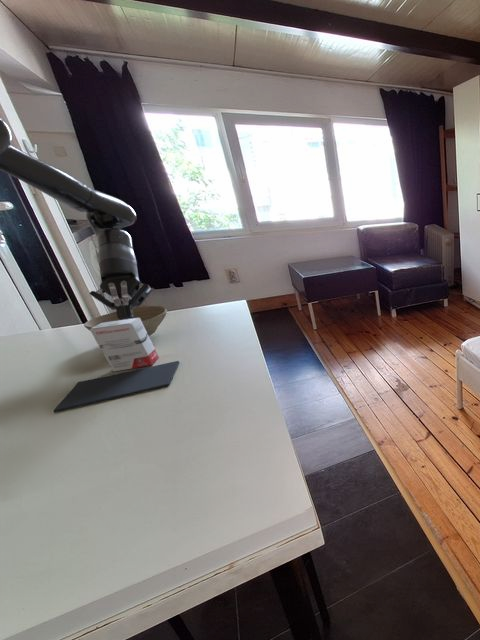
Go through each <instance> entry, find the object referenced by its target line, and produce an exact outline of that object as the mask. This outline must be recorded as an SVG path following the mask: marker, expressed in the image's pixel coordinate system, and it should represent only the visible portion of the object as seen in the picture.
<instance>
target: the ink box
mask: <svg viewBox="0 0 480 640" xmlns="http://www.w3.org/2000/svg"><path fill="white" fill-rule="evenodd" d="M89 331H90V333H91V334H92V336H93V338H94V339H95V342H96V344H97V346H98V347H99V349H100V350H101V352H102V355H103V356H104V357H105V360H106V361H107V363H108V365H109V366H110V369H111V370H112V372H121V371H125V370H132V369H139V368H145V367H151V366H153V364H154V363H156V361H157V360H158V359H159V358H160V356H159V354H158V352H157V350H156V348H155V346H154V344H153V342H152V340H151V338H150V336H148V334H147V332H146V330H145V328H144V326H143V323H142V321H141V319H140V318H133V319H126V320H118V321H111V322H104V323H100V324H98V325H97V326H95V327H93V328H92V329H90V330H89Z"/></svg>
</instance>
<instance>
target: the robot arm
mask: <svg viewBox="0 0 480 640" xmlns="http://www.w3.org/2000/svg"><path fill="white" fill-rule="evenodd" d="M12 138H13V137H12V132H11V130H10V127H9V126H8V124H7V123H6V122H5V121H4V119H2V118H1V117H0V171H1V172H3V173H6V174H7V175H10V176H12V177H14V178H15V179H18V180H19V181H21V182H23V183H25V184H27V185H28V186H31V187H33V188H35V189H36V190H38V191H40V192H41V193H43V194H45V195H47V196H49V197H51V198H53V199H54V200H56V201H58V202H60V203H61V204H63V205H64V206H65V205H66V206H67V207H69V208H70V209H73V210H74V211H77V212H80V213H85V219H86V220H87V222H88V224H89V226H90V227H91V229H92V231H93V233H94V234H95V237H96V239H97V247H98V253H97V257H98V265H99V274H100V275H99V276H100V285H99V288H98V289H97V290H96V291H95V290H92V291H90V292H89V295H90V296H91V297H93V298H94V299H95V300H96V301H98V302H100V303H101V304H103V305H105V306H106V307H107V308H109V309H110V310H112V311H114V310H115V312H116V311H117V317H118V318H119V319H120V320H126V319H133V317H134V316H133V308H135V307H141V305H142V304H143V303H144V302H145V300H147V298H148V296H149V295H150V294H151V293H152V291H153V288H152V287H151V286H150V285H149V284H148V283H142V281H140V277H139V271H138V261H137V258H136V255H135V252H134V245H133V239H132V237H131V235H130V234H129V233H128V232H127V231H126V230H124V229H123V228H125V227H129V226H132V225H134V224H135V223H136V221H137V214H136V212H135V210H134V209H133V208H132V207H131V206H130V205H129V204H128V203H126V202H125V201H123V200H122V199H120V198H118V197H116V196H113V195H110V194H108V193H105V192H102V191H99V190H97V189H93V188H92V187H90V186H89V185H87V184H85V183H84V182H82V181H80V180H79V179H77V178H76V177H74V176H72V175H71V174H69V173H68V172H66V171H64V170H62V169H59V168H58V167H55V166H53V165H51V164H50V163H47V162H45V161H43V160H41V159H39V158H36V157H35V156H33V155H31V154H28V153H26V152H24V151H22V150H20V149H19V148H17V147H15V146H13V145H12ZM105 293H106V294H107V295H108V296H110V298H112V300H113V301H110V300H109V299H107V298H106V294H105Z"/></svg>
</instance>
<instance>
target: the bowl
mask: <svg viewBox="0 0 480 640" xmlns="http://www.w3.org/2000/svg"><path fill="white" fill-rule="evenodd" d="M167 313H168V310H167V309H166V307H164V306H161V305H145V306H136V307H133V316H134V317H133V318H140V319H141V321H142V323H143V326H144V328H145V330H146V332H147V334H148V336H149V337H150V336H152V335H153V334H154V333H155V332H156V331H157V329H158V327H159V326H160V324H161V323H162V322H163V321H164V319H165V318H166V316H167ZM118 320H120V319H119V318H118V317H117V311H116V310H115V311H112V312H110V313H106V314H102V315H100V316H97V317H93V318H92V319H89V320H87V321H86V322H84V324H83V326H84V328H86V329H87V330H88V331H90V329H92V328H93V327H95V326H97V325H98V324H100V323H104V322H111V321H118Z"/></svg>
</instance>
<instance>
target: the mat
mask: <svg viewBox="0 0 480 640" xmlns="http://www.w3.org/2000/svg"><path fill="white" fill-rule="evenodd" d="M179 365H180V360H176V361H170V362H165V363H161V364H156V365H150V366H146V367H141V368H136V369H133V370H128V371H124V372H120V373H119V372H117V373H114V374H109V375H103V376H100V377H95V378H91V379H86V380H81V381H77V383H76V384H75V385H74V386H73V387H72V389H70V391H69V392H68V393H67V394H66V395H65V397H64V398H63V399H61V401H60V402H59V403H58V405H56V407H54V409H53V412H54V413H59V412H63V411H67V410H72V409H76V408H81V407H85V406H89V405H94V404H97V403H102V402H106V401H111V400H114V399H119V398H124V397H127V396H133V395H137V394H140V393H145V392H149V391H153V390H158V389H162V388H166V387H170V385H171V383H172V381H173V379H174V376H175V374H176V371H177V369H178V366H179Z"/></svg>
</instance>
